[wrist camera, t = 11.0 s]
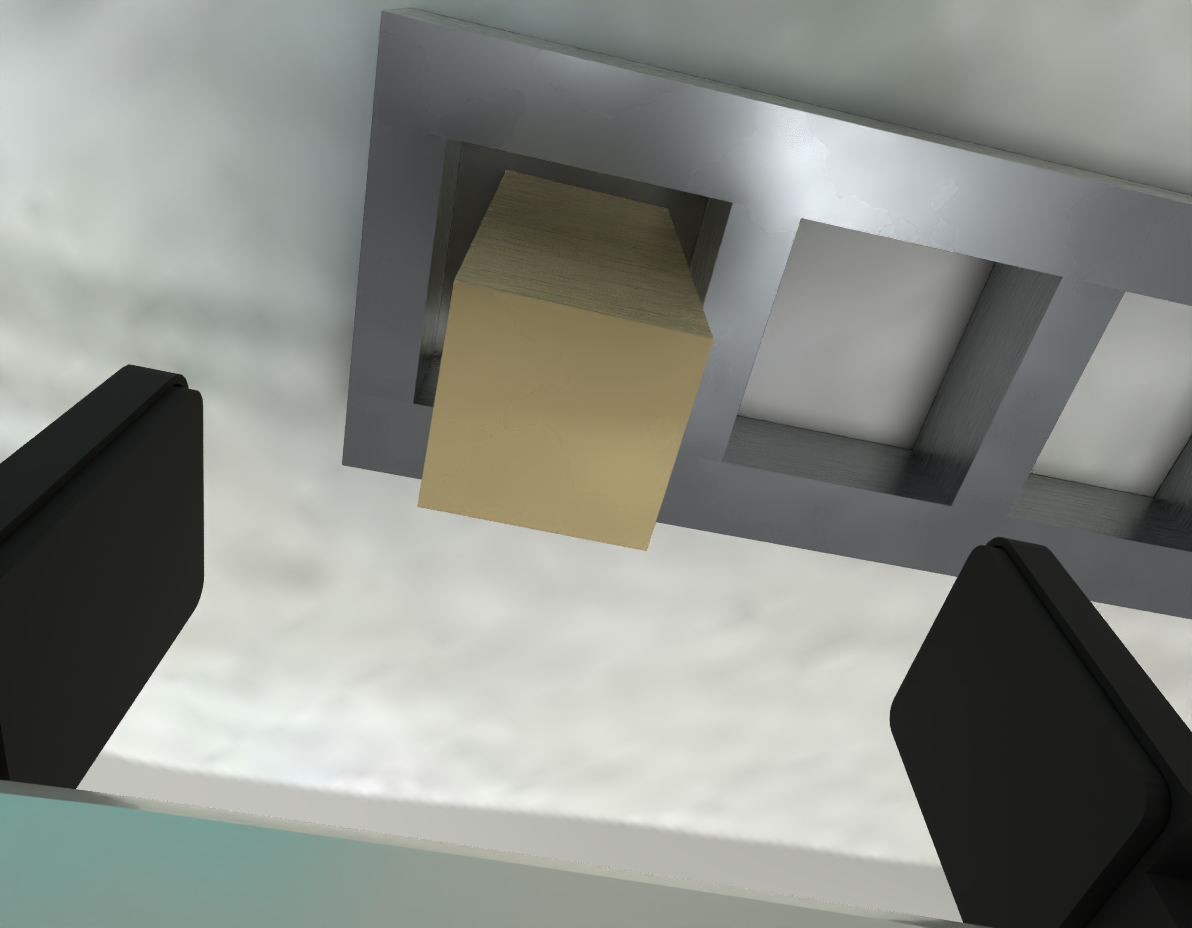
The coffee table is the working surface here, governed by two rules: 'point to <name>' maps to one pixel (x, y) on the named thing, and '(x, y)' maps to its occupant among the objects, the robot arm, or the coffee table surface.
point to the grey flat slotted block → (750, 283)
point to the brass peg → (566, 365)
